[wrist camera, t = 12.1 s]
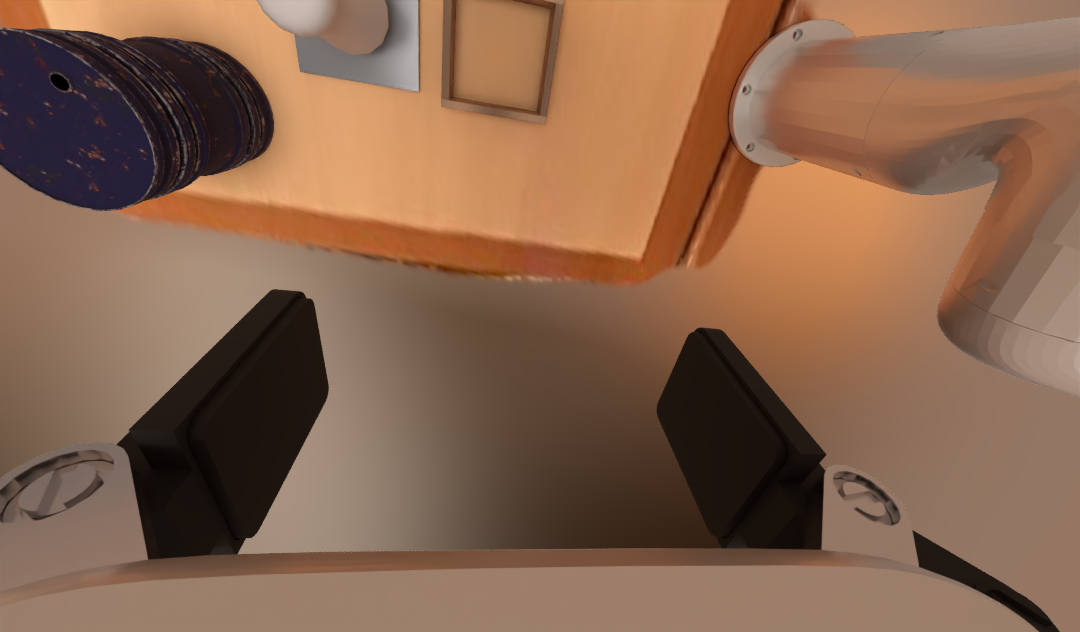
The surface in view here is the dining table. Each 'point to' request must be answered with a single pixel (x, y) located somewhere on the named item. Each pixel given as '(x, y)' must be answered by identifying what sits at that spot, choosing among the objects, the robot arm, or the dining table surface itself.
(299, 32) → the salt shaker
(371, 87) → the dining table surface
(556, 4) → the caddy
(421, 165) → the dining table surface
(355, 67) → the coaster
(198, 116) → the dark blue cylinder
